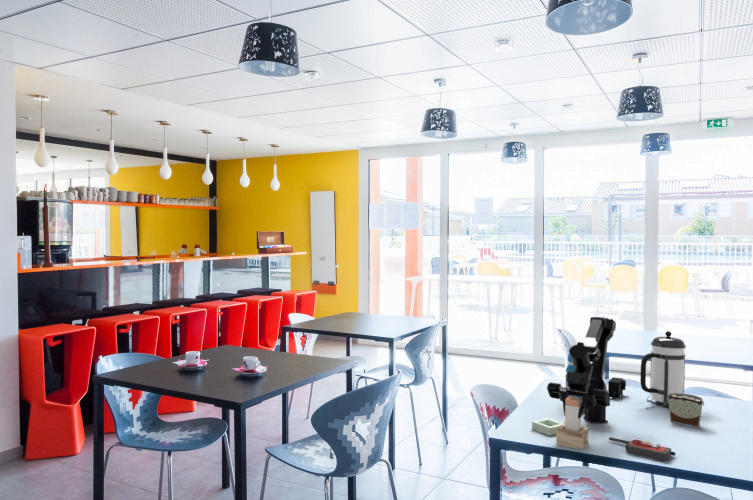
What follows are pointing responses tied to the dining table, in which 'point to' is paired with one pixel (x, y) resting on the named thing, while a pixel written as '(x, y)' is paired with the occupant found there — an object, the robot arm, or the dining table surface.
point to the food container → (685, 408)
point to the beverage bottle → (570, 369)
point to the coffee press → (664, 368)
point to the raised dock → (572, 437)
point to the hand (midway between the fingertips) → (571, 416)
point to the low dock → (546, 426)
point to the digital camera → (616, 387)
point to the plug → (572, 414)
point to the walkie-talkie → (646, 449)
